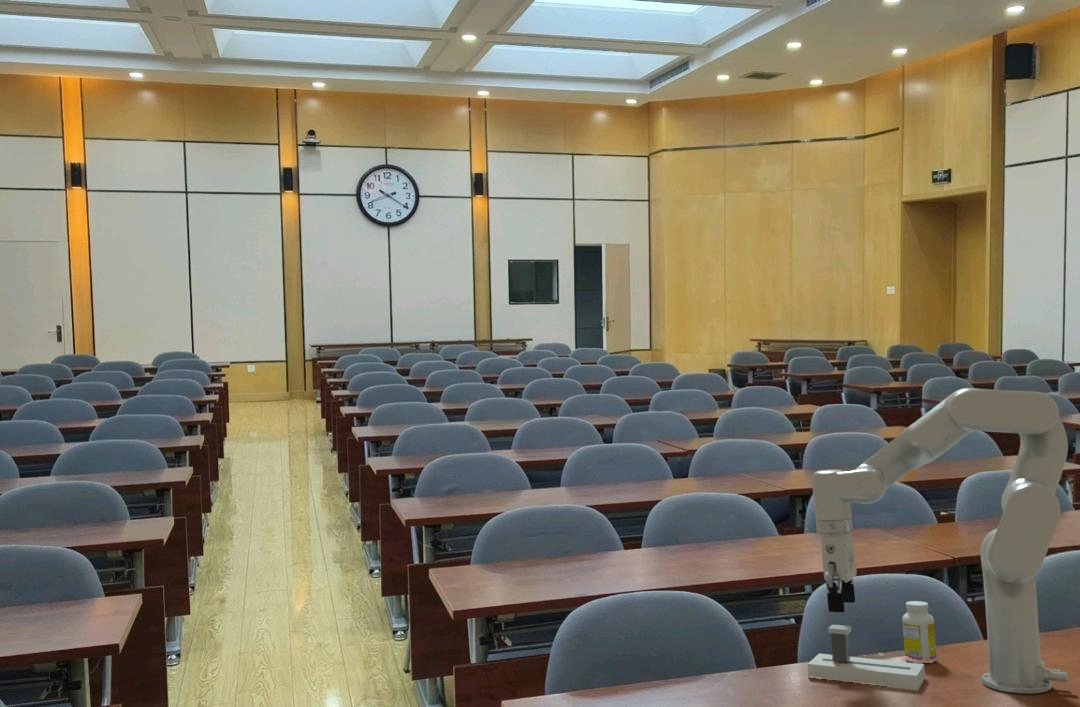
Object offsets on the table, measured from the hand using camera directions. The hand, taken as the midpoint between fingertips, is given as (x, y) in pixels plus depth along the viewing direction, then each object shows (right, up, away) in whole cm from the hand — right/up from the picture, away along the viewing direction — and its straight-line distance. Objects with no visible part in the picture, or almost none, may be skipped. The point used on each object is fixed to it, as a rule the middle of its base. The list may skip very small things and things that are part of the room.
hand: (842, 606), depth 200 cm
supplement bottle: (+20, -15, +8) cm, 26 cm away
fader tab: (0, -11, 0) cm, 11 cm away
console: (+4, -14, -3) cm, 15 cm away
